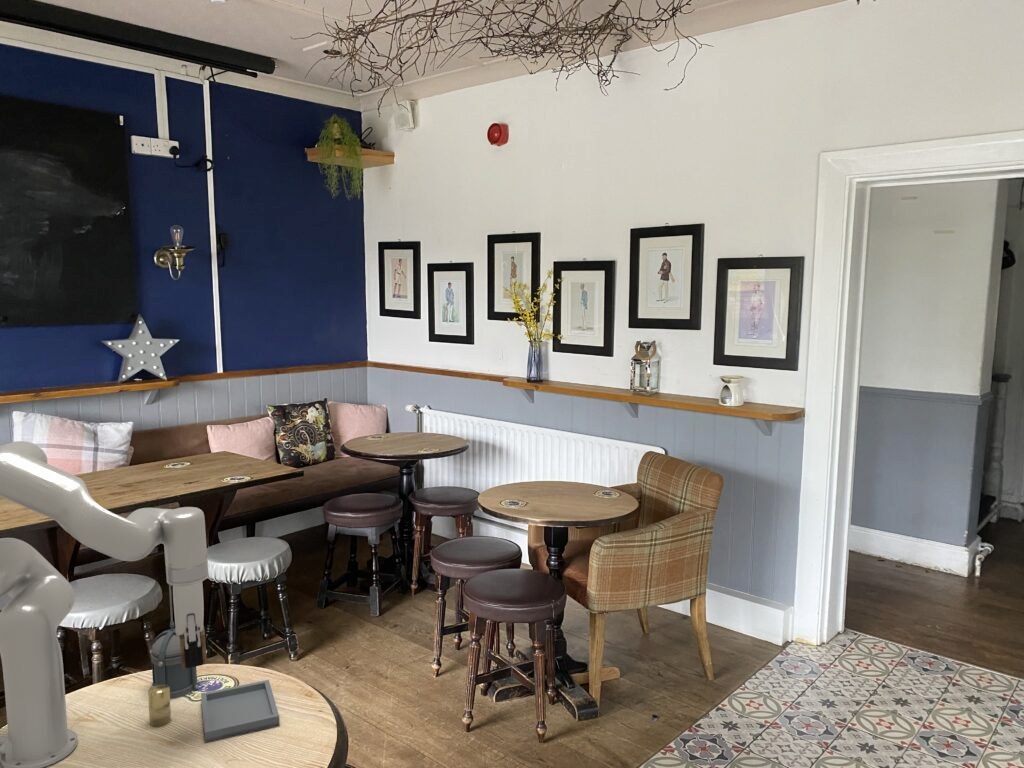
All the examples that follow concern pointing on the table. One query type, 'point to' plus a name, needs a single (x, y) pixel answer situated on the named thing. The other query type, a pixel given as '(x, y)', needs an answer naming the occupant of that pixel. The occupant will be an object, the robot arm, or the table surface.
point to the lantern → (171, 663)
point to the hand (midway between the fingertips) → (193, 659)
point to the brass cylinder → (159, 705)
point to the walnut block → (202, 641)
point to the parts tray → (238, 710)
